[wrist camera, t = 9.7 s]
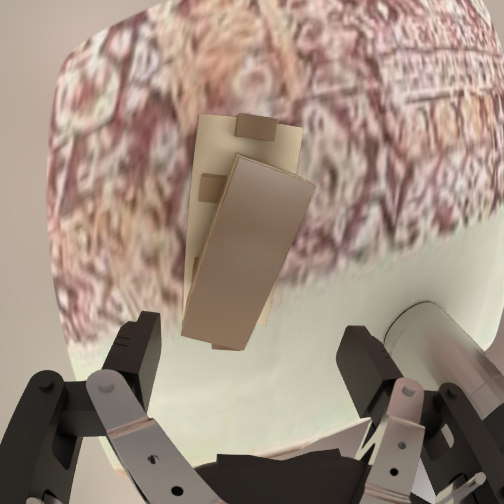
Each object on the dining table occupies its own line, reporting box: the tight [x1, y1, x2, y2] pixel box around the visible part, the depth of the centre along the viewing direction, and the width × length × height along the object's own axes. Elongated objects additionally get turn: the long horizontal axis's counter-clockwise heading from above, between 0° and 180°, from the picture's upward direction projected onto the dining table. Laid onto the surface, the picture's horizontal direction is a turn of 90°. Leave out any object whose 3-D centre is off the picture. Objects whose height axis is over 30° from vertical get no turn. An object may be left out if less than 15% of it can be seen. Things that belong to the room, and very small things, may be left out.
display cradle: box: [183, 113, 303, 351], centre depth 22 cm, size 8×18×5 cm, turn 172°
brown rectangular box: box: [181, 153, 316, 351], centre depth 20 cm, size 5×12×5 cm, turn 160°
